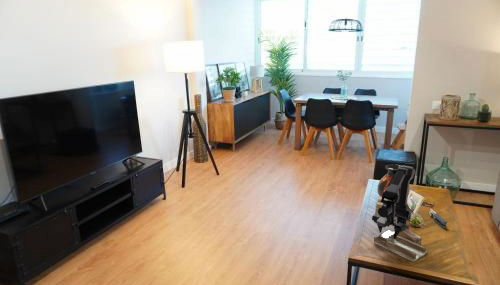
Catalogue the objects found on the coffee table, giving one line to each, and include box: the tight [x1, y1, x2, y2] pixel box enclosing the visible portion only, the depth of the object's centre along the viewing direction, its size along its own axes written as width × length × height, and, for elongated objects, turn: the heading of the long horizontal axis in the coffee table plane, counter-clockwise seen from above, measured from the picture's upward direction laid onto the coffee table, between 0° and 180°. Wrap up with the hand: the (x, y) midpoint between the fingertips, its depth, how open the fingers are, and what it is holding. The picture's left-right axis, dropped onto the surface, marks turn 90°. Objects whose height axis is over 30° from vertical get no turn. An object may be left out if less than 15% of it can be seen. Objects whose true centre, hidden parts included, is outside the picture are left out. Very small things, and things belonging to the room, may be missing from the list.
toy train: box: [374, 196, 387, 215], centre depth 234 cm, size 6×17×10 cm, turn 151°
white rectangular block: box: [379, 229, 394, 242], centre depth 200 cm, size 9×4×4 cm, turn 128°
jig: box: [373, 230, 428, 263], centre depth 194 cm, size 14×24×4 cm, turn 36°
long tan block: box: [399, 227, 422, 246], centre depth 201 cm, size 5×14×5 cm, turn 16°
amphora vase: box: [376, 163, 410, 205], centre depth 248 cm, size 22×22×28 cm
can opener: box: [429, 208, 448, 229], centre depth 223 cm, size 19×6×5 cm, turn 177°
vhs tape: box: [421, 201, 435, 208], centre depth 249 cm, size 14×8×2 cm, turn 146°
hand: (387, 235), depth 200 cm, fingers open, 9 cm apart
